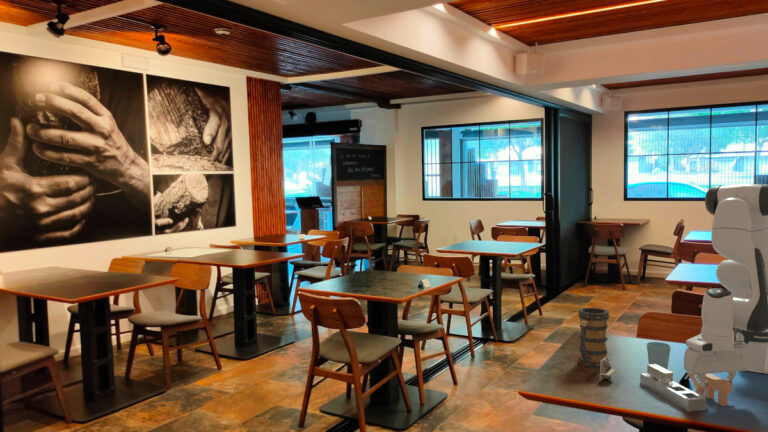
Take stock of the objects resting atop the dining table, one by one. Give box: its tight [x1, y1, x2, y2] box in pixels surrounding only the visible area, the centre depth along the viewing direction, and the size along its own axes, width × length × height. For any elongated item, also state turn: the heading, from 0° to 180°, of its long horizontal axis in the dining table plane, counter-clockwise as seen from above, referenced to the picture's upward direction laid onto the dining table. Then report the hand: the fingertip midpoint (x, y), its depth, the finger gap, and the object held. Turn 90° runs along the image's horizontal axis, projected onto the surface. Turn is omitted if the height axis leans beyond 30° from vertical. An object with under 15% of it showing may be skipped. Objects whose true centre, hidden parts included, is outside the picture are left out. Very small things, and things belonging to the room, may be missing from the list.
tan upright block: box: [704, 373, 733, 406], centre depth 179 cm, size 3×9×7 cm, turn 9°
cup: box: [646, 341, 672, 370], centre depth 205 cm, size 8×8×10 cm
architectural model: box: [599, 357, 616, 382], centre depth 199 cm, size 3×7×7 cm, turn 141°
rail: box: [639, 363, 708, 413], centre depth 184 cm, size 6×24×7 cm, turn 9°
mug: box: [576, 307, 611, 369], centre depth 215 cm, size 13×17×20 cm
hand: (716, 385), depth 179 cm, fingers open, 7 cm apart
